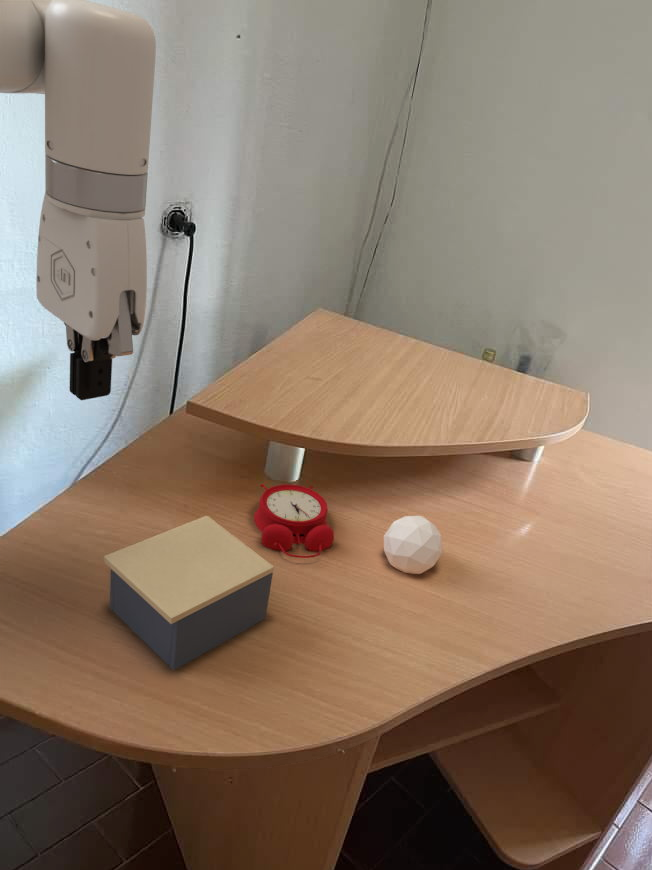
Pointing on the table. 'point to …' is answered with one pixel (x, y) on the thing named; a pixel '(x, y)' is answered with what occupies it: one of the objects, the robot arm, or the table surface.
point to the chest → (190, 620)
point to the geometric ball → (412, 544)
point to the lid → (188, 567)
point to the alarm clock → (293, 519)
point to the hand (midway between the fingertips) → (90, 393)
